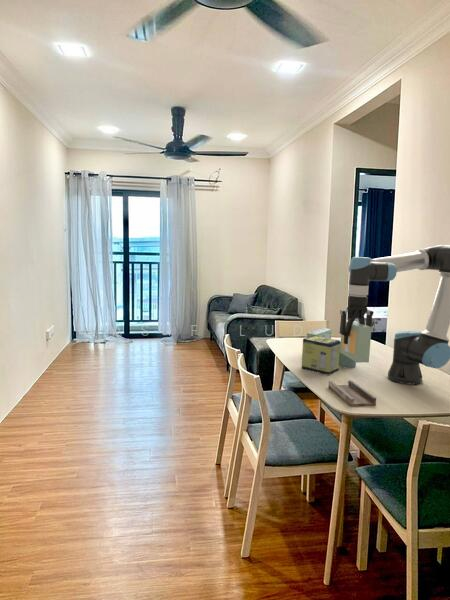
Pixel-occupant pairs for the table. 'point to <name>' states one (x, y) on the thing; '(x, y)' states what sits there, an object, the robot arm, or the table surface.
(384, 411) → the table surface
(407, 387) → the table surface
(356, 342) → the cracker box
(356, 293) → the robot arm
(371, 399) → the facing shelf
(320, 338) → the protein box
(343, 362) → the green cup
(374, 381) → the table surface
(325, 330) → the snack box
